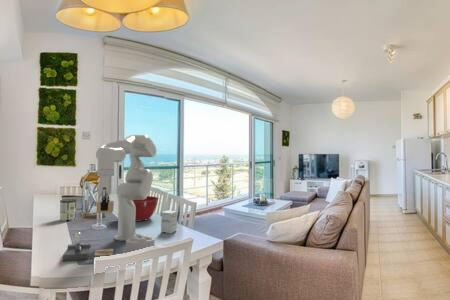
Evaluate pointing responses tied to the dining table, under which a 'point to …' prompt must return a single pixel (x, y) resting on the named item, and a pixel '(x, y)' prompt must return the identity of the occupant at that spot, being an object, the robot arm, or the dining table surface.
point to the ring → (110, 207)
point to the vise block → (77, 250)
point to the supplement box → (169, 221)
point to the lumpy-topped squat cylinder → (139, 242)
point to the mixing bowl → (145, 207)
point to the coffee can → (67, 209)
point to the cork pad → (103, 252)
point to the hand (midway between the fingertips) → (105, 208)
